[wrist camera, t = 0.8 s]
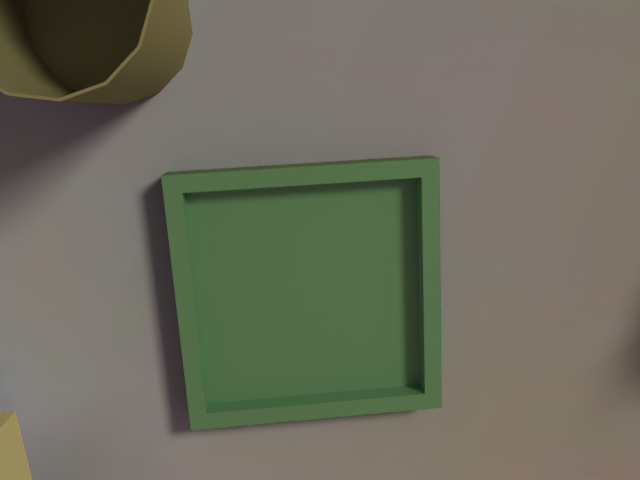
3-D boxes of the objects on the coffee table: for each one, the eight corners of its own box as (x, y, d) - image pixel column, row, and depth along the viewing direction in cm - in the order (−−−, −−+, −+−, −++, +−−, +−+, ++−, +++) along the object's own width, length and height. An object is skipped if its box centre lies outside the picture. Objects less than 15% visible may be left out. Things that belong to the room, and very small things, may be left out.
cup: (0, 46, 30) (-130, 15, 20) (74, -99, 29) (-27, -205, 19) (145, 133, 32) (88, 142, 22) (221, -1, 30) (196, -54, 21)
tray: (167, 172, 32) (160, 175, 30) (430, 155, 33) (439, 157, 31) (194, 414, 35) (190, 430, 34) (433, 393, 36) (441, 407, 35)
